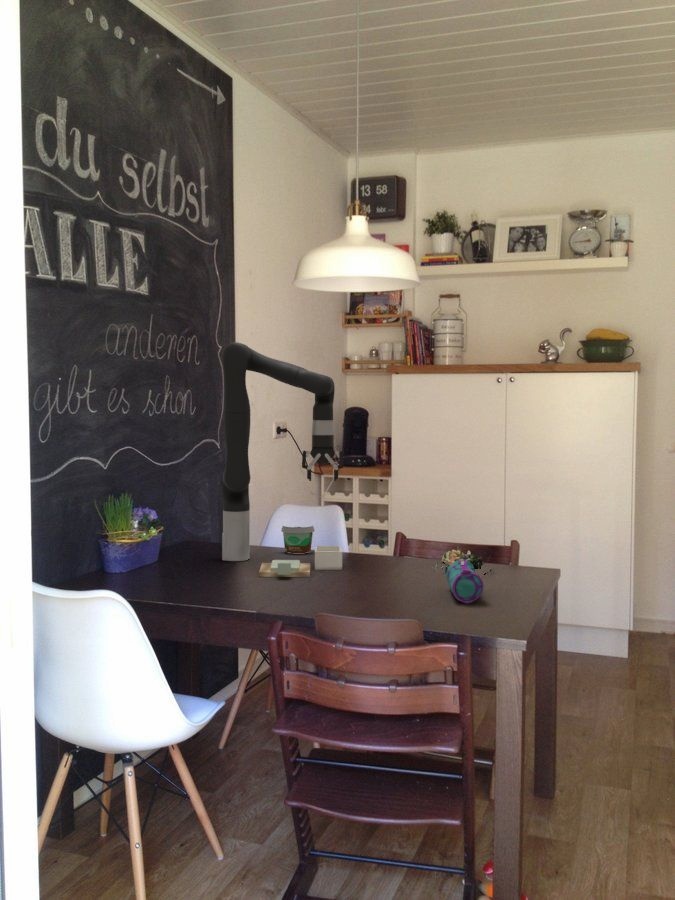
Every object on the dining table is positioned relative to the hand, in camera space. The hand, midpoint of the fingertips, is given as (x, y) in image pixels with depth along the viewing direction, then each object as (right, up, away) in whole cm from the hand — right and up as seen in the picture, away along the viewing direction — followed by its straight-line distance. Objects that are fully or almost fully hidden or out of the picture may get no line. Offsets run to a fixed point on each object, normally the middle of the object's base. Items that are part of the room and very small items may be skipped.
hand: (322, 480), depth 291 cm
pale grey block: (-12, -27, -20) cm, 36 cm away
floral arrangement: (+46, -30, -6) cm, 55 cm away
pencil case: (+41, -31, -51) cm, 72 cm away
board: (-12, -29, -17) cm, 35 cm away
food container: (-10, -27, +18) cm, 34 cm away
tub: (+2, -29, -7) cm, 29 cm away
